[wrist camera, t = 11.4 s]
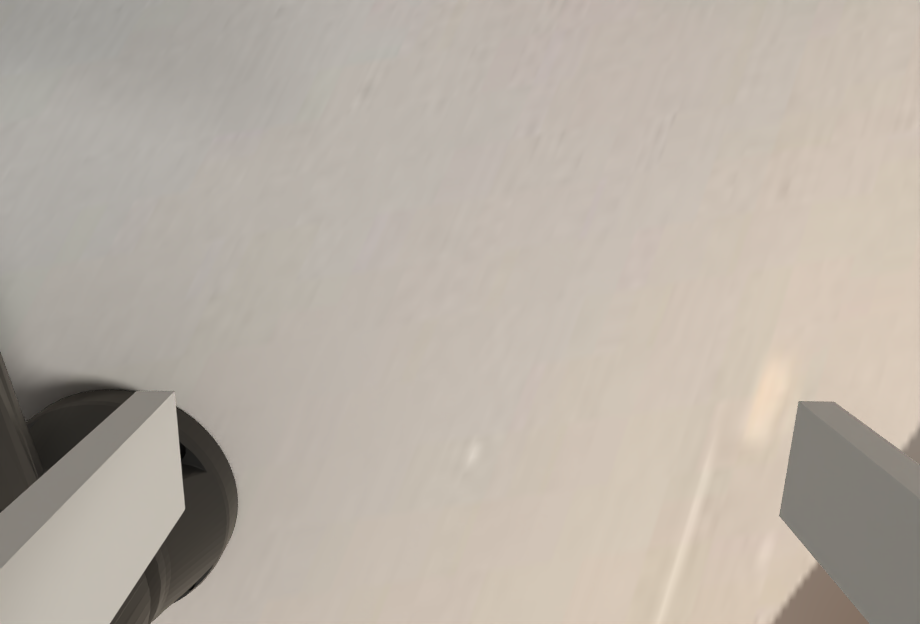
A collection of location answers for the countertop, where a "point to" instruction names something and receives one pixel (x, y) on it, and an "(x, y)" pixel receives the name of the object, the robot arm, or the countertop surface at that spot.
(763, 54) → the countertop surface
